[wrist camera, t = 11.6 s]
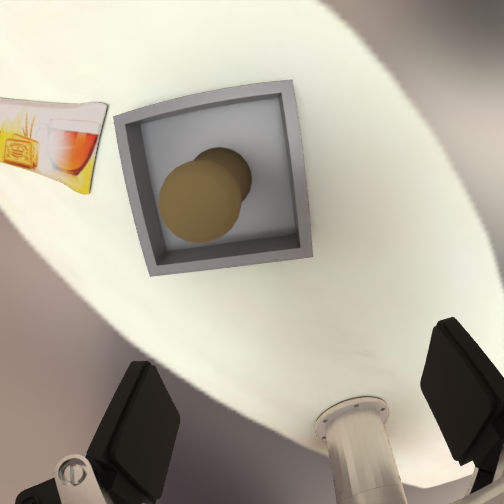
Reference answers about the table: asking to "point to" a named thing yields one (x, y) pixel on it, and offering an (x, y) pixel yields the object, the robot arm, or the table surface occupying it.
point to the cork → (205, 195)
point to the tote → (232, 137)
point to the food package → (52, 139)
